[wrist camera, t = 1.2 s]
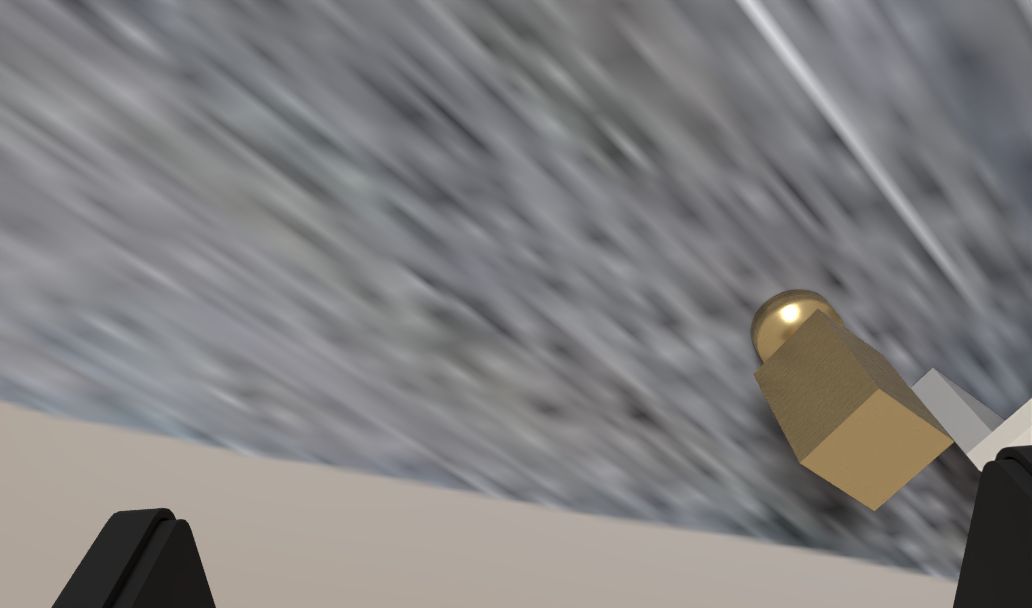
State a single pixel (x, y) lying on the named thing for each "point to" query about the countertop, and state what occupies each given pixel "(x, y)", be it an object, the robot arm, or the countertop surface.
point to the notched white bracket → (973, 419)
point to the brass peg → (841, 400)
